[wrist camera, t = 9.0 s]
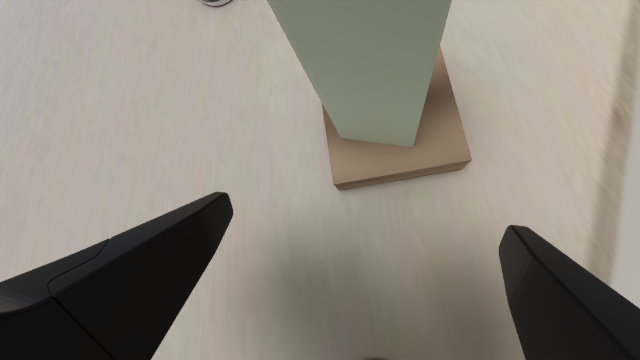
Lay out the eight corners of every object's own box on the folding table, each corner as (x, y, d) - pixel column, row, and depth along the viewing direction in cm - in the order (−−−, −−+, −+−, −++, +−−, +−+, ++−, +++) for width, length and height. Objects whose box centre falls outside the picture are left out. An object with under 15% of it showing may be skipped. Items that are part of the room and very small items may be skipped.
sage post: (412, 147, 18) (462, -43, 5) (340, 138, 19) (251, -30, 7) (425, 79, 18) (494, -230, 6) (354, 75, 20) (295, -183, 8)
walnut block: (459, 171, 20) (471, 159, 17) (340, 191, 21) (333, 184, 19) (431, 66, 22) (438, 40, 19) (325, 93, 24) (317, 73, 21)
